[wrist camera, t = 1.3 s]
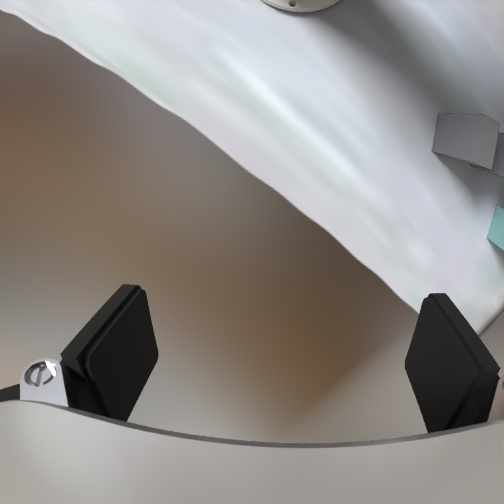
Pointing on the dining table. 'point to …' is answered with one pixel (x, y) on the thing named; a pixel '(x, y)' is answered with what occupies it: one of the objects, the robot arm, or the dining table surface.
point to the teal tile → (497, 228)
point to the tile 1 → (467, 138)
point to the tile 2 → (496, 158)
